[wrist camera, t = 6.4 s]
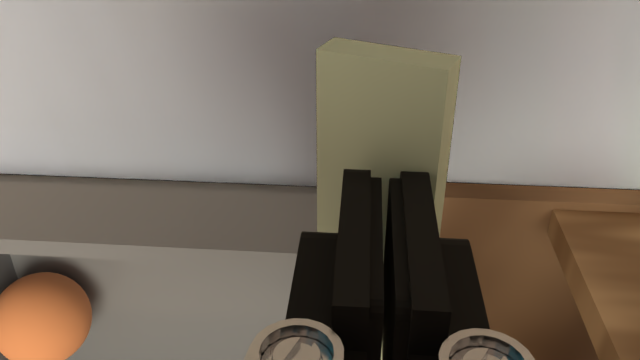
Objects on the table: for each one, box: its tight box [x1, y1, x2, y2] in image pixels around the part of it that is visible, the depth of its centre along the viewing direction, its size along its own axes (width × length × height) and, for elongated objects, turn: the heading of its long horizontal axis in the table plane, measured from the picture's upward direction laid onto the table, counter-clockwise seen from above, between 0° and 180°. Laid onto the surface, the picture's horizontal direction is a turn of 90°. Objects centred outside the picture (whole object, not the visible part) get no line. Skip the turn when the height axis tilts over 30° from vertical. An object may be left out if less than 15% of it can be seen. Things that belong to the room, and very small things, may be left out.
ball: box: [0, 272, 92, 360], centre depth 24 cm, size 4×4×4 cm
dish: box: [0, 174, 317, 360], centre depth 24 cm, size 10×14×4 cm
